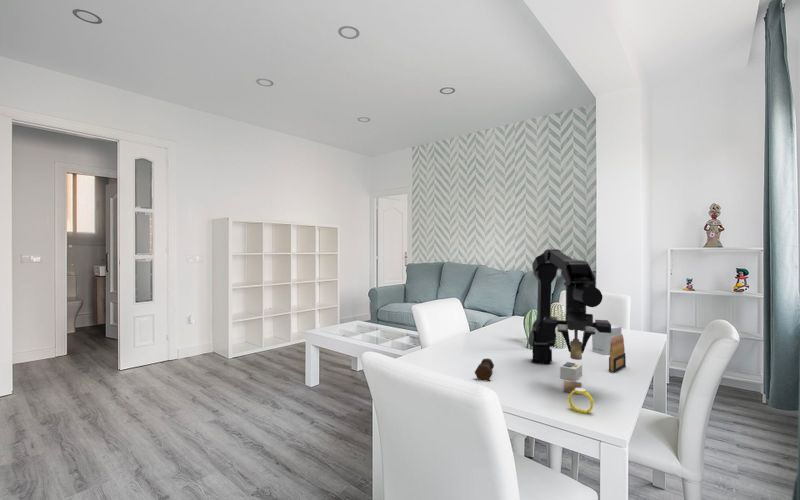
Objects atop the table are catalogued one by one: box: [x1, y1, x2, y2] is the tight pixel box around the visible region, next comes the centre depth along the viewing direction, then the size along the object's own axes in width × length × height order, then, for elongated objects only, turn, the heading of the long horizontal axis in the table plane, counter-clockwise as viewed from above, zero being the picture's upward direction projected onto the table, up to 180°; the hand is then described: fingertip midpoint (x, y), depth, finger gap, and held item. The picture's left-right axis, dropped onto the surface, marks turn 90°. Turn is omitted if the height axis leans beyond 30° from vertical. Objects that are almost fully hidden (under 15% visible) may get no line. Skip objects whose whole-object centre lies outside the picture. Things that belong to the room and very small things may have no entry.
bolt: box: [474, 358, 495, 381], centre depth 134 cm, size 6×5×15 cm
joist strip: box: [563, 380, 583, 395], centre depth 127 cm, size 5×25×1 cm, turn 156°
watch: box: [567, 387, 594, 414], centre depth 103 cm, size 6×3×6 cm, turn 51°
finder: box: [559, 361, 583, 382], centre depth 130 cm, size 5×7×4 cm
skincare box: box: [591, 324, 622, 356], centre depth 161 cm, size 10×6×10 cm, turn 114°
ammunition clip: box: [608, 333, 627, 374], centre depth 137 cm, size 11×2×12 cm, turn 131°
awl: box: [569, 330, 583, 361], centre depth 118 cm, size 3×3×9 cm
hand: (576, 352), depth 119 cm, fingers closed on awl, 3 cm apart
